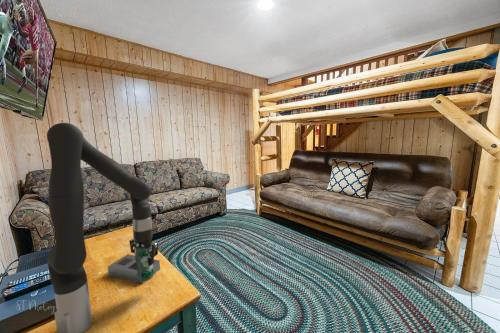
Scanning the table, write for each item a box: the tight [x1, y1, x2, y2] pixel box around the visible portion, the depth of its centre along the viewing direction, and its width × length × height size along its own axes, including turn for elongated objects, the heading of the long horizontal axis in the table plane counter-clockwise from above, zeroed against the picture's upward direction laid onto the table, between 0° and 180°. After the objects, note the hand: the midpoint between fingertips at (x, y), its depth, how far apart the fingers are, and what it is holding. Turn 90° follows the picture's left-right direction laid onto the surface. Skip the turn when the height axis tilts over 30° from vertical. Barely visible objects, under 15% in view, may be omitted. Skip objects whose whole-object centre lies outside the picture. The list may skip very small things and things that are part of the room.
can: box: [136, 246, 155, 282], centre depth 93 cm, size 6×6×15 cm
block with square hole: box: [107, 253, 161, 285], centre depth 110 cm, size 12×22×5 cm, turn 72°
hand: (144, 263), depth 93 cm, fingers closed on can, 6 cm apart
